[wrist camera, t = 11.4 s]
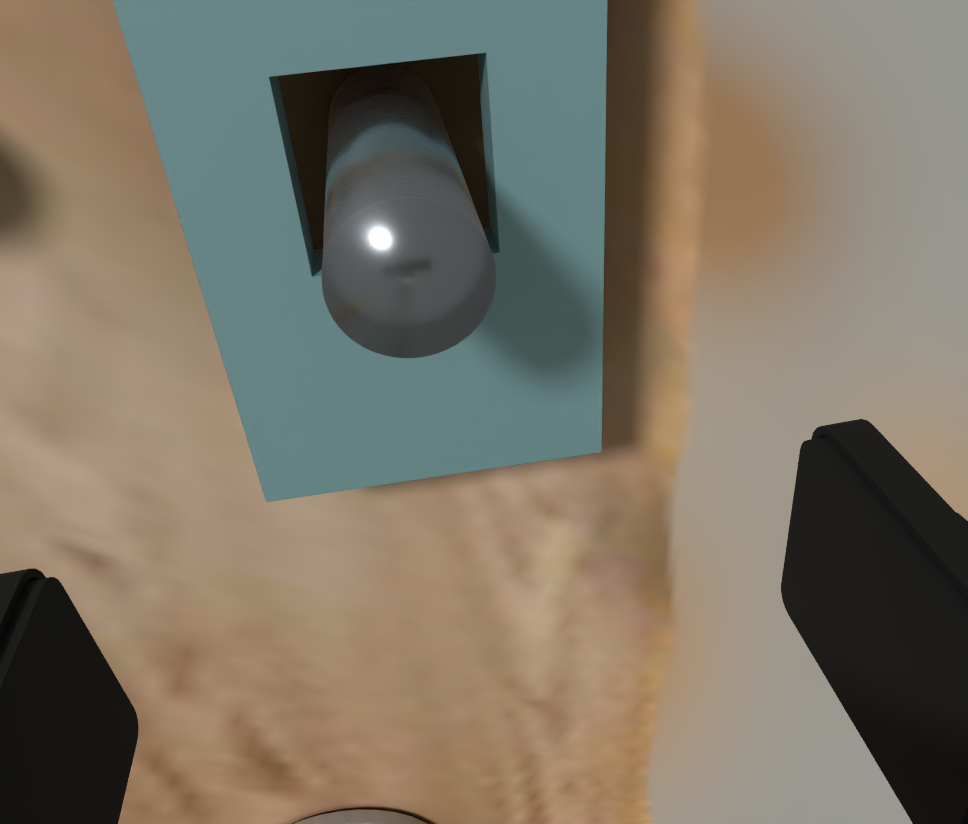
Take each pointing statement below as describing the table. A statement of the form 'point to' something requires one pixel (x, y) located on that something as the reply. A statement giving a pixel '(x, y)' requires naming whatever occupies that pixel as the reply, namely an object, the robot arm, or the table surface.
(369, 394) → the hole bridge
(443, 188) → the tall pin
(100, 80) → the table surface
